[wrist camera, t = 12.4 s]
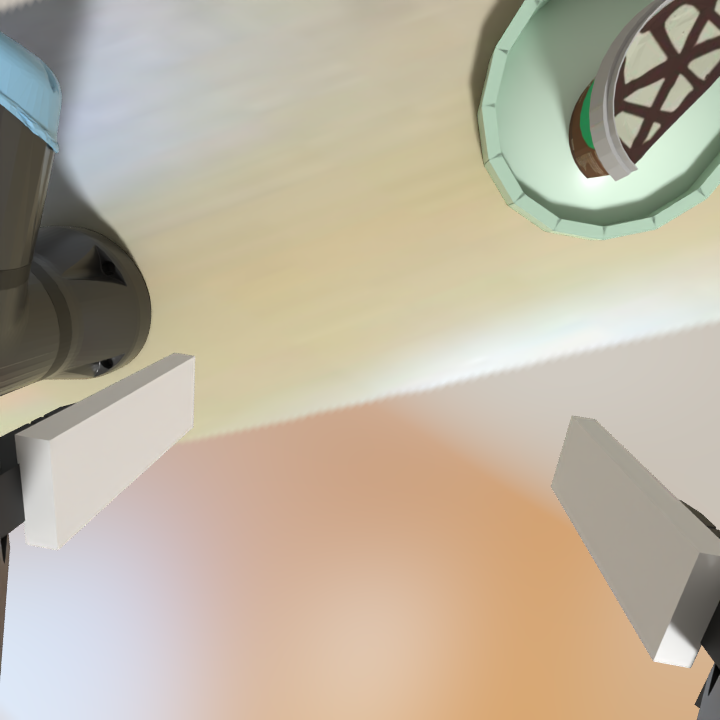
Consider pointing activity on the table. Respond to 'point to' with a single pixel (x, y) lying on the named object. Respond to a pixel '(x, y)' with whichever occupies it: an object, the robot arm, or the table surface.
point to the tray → (552, 118)
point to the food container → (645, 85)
